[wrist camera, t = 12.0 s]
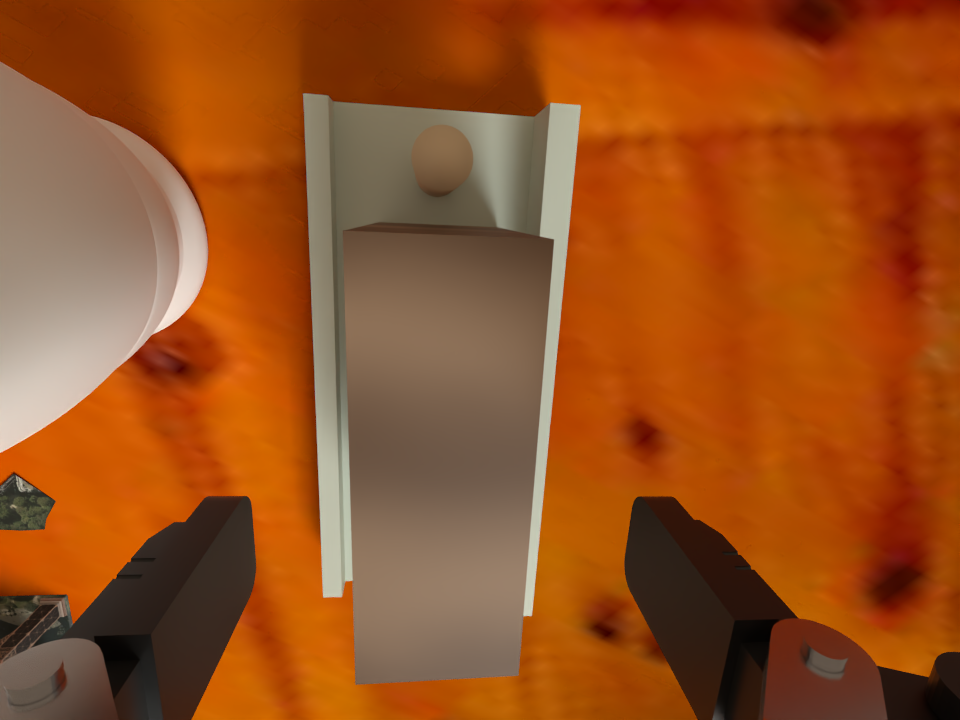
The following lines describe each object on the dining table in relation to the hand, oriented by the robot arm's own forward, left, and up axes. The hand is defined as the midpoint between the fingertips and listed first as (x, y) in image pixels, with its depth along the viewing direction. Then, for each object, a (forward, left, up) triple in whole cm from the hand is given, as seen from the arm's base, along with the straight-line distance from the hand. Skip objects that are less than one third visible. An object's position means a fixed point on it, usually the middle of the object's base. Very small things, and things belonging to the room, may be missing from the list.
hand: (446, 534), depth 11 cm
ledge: (0, 0, -12) cm, 12 cm away
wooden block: (0, 0, -11) cm, 11 cm away
